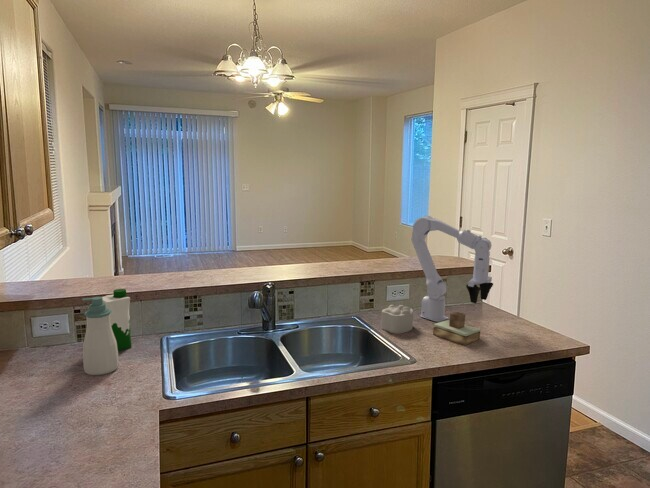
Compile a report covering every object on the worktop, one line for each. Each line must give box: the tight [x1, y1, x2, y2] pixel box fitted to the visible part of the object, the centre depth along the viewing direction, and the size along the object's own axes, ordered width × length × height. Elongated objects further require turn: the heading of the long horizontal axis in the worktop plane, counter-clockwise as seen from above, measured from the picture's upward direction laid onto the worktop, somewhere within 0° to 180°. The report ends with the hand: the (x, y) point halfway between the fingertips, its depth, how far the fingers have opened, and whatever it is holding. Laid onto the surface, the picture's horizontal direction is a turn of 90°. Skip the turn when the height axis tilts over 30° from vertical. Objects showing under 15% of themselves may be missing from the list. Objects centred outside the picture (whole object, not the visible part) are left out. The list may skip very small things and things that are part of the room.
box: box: [432, 326, 481, 346], centre depth 175 cm, size 14×10×3 cm
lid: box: [433, 319, 481, 336], centre depth 175 cm, size 14×10×1 cm
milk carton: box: [101, 288, 132, 352], centre depth 157 cm, size 9×9×20 cm
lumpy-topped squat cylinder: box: [380, 304, 414, 334], centre depth 184 cm, size 10×13×9 cm
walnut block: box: [449, 311, 466, 329], centre depth 174 cm, size 4×4×5 cm
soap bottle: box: [81, 296, 120, 376], centre depth 140 cm, size 10×10×23 cm
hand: (478, 301), depth 187 cm, fingers open, 7 cm apart
